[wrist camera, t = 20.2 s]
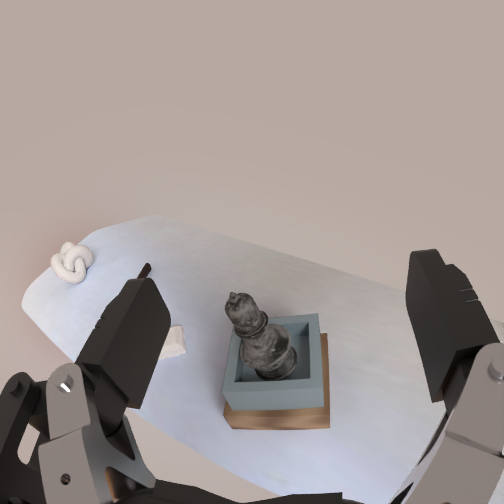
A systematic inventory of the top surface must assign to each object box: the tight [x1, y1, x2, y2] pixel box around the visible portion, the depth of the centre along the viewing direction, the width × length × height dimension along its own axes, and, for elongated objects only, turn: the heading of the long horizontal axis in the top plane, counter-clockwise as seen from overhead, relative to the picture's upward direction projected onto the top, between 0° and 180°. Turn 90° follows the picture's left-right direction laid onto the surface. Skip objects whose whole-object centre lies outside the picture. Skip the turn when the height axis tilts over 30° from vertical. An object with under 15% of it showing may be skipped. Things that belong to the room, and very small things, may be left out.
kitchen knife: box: [137, 263, 151, 279], centre depth 62 cm, size 18×1×2 cm, turn 173°
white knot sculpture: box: [51, 242, 93, 284], centre depth 72 cm, size 11×12×9 cm
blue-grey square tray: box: [222, 313, 324, 411], centre depth 35 cm, size 10×10×4 cm
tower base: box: [223, 333, 330, 430], centre depth 37 cm, size 12×12×4 cm
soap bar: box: [158, 326, 186, 360], centre depth 48 cm, size 5×9×3 cm, turn 104°
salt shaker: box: [225, 292, 298, 381], centre depth 31 cm, size 6×6×12 cm
